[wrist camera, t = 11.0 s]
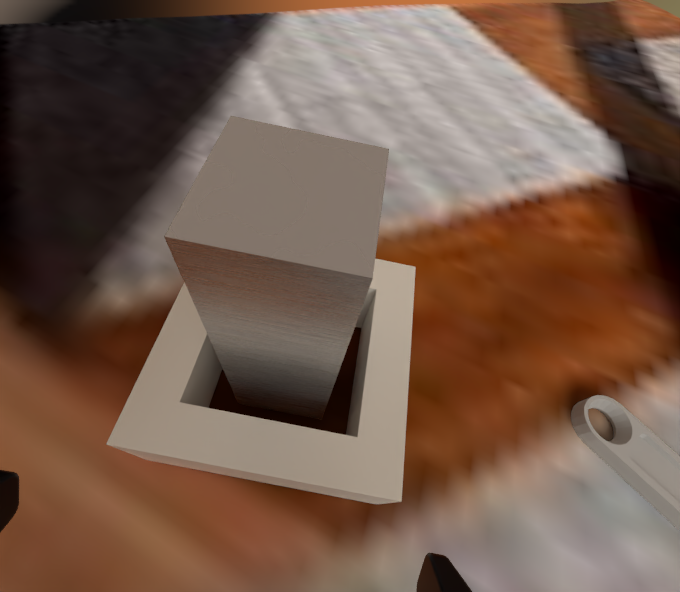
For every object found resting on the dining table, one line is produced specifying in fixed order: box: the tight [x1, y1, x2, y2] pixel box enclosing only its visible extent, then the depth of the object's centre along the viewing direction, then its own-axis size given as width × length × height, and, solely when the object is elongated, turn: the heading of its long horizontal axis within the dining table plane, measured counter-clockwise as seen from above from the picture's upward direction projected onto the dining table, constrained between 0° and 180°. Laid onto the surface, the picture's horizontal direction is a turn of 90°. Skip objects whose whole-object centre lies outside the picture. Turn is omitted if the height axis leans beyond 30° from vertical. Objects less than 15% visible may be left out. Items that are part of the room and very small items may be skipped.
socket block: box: [106, 259, 416, 504], centre depth 16 cm, size 10×10×4 cm
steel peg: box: [164, 116, 389, 420], centre depth 13 cm, size 4×4×12 cm
